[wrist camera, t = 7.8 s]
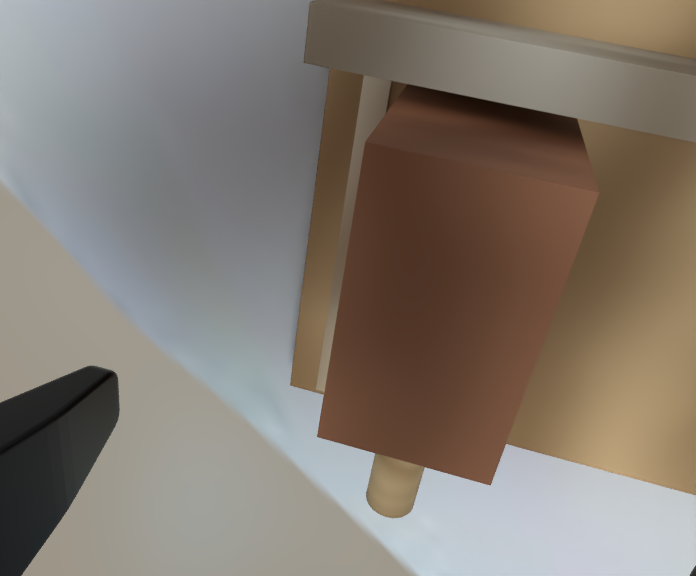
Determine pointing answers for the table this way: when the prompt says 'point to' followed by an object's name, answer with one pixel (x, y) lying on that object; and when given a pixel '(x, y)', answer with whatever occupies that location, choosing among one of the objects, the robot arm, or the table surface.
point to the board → (604, 224)
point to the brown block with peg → (451, 284)
